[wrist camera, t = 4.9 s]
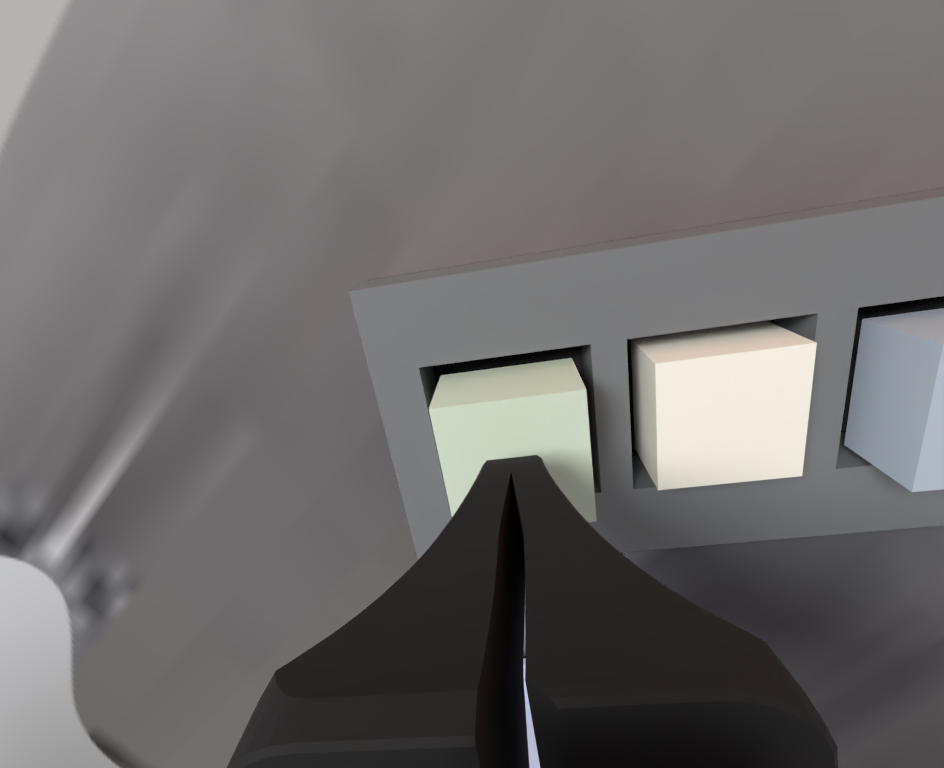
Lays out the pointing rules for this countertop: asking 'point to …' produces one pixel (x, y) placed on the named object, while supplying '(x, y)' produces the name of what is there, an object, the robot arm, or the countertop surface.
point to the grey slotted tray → (655, 313)
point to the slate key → (900, 398)
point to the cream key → (722, 404)
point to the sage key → (515, 426)
